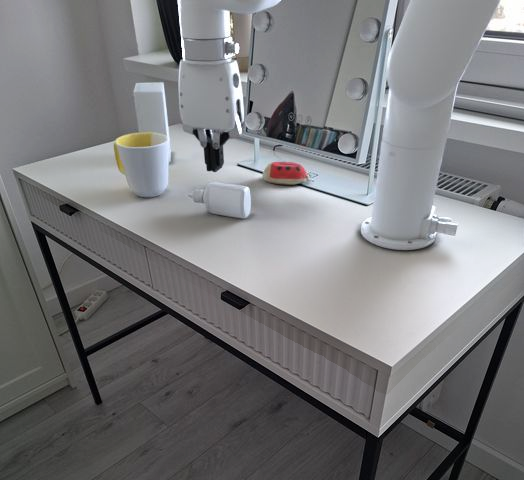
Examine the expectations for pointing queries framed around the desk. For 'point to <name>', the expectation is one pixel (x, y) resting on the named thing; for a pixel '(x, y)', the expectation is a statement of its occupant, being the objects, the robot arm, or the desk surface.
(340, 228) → the desk surface
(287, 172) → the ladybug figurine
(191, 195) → the eye dropper bottle
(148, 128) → the cosmetic box
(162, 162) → the mug
